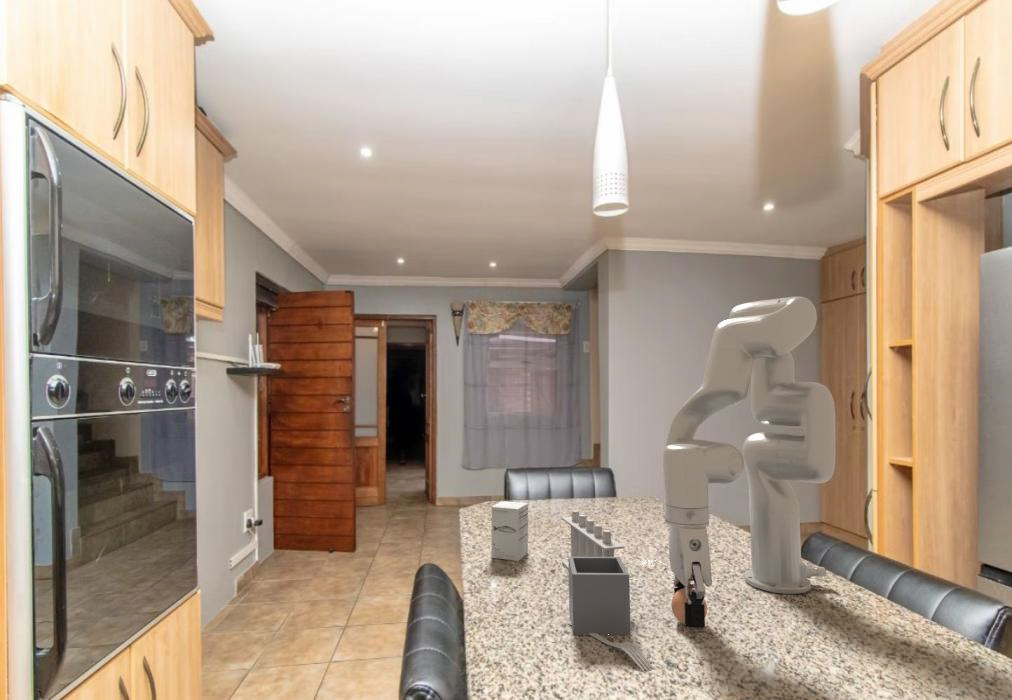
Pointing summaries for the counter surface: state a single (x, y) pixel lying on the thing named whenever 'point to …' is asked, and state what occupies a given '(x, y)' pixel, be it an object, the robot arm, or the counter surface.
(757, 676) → the counter surface
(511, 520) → the supplement box
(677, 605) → the ball
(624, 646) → the fork
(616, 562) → the grey open square box
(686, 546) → the robot arm
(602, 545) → the test tube rack
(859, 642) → the counter surface
